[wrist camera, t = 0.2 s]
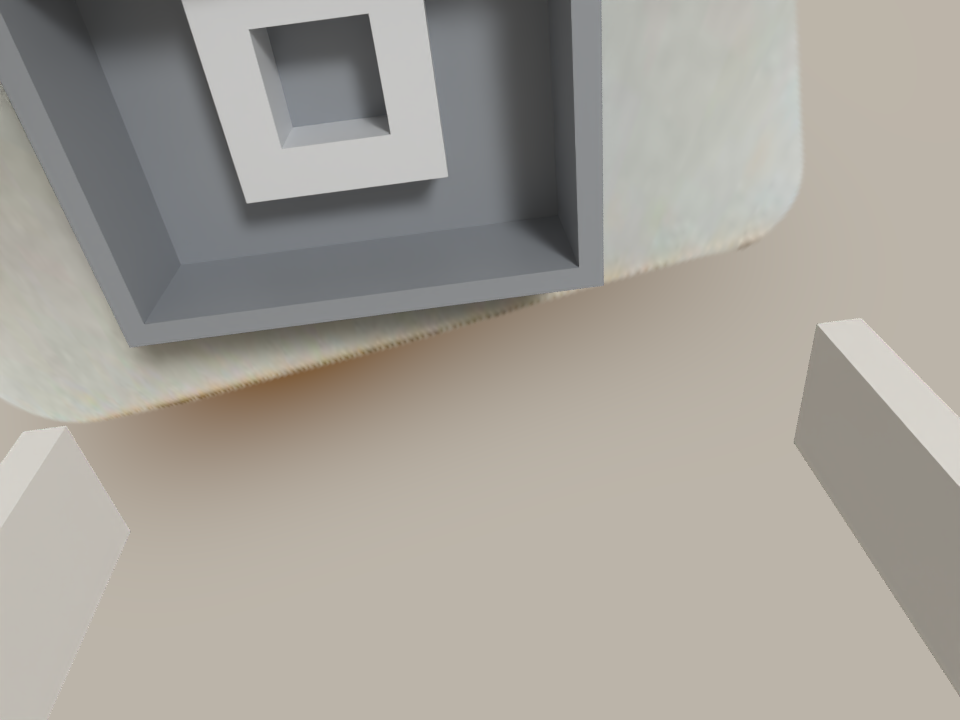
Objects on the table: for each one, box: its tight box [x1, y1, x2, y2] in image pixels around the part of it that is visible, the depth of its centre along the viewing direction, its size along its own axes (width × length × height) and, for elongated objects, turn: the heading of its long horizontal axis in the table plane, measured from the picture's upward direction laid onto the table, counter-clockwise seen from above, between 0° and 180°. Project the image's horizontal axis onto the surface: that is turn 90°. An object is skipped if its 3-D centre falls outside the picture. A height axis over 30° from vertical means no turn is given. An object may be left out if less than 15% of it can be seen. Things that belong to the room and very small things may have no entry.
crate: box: [0, 0, 604, 347], centre depth 33 cm, size 18×24×7 cm
